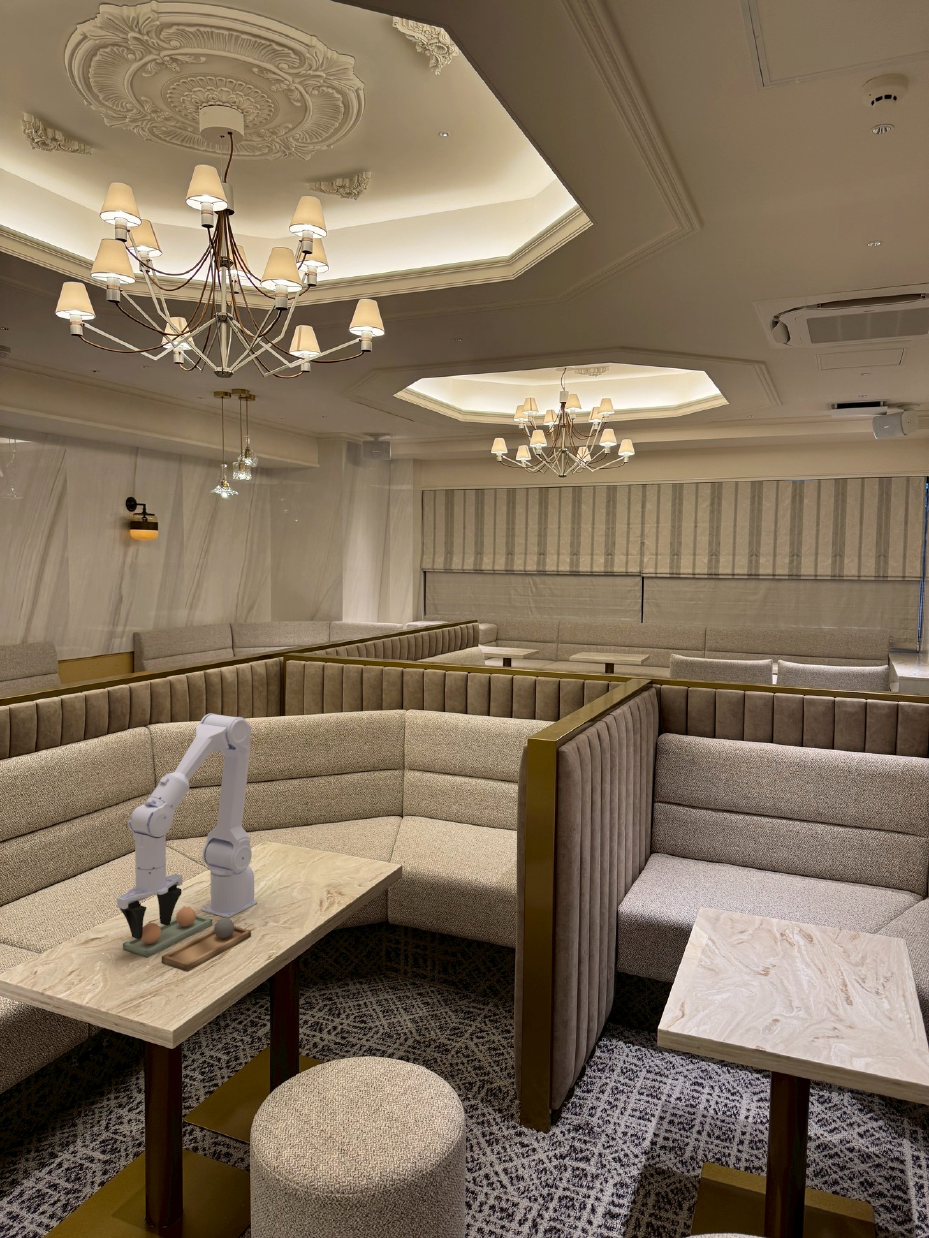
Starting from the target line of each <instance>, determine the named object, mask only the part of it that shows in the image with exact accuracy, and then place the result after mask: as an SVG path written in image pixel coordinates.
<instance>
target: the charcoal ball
mask: <svg viewBox="0 0 929 1238" xmlns="http://www.w3.org/2000/svg"><path fill="white" fill-rule="evenodd" d="M234 926H235V924H234V922H233V920H232V919H231V918H230V917H229V918H225V917H222V918H220V919H218V920H217V921H216V922H215V924H214V926H213V927H214V928H213V930H214V932H215V934H216V936H217V937H219V938H221V939H225V938H228V937H230V936H231V935H232V934H233V932H234Z"/></svg>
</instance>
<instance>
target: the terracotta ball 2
mask: <svg viewBox="0 0 929 1238" xmlns="http://www.w3.org/2000/svg"><path fill="white" fill-rule="evenodd" d="M196 915H197V913H196V911H195V910H194V908H192V907H190V906H183V907H181V908H180V909H179V910H178V911H177V912H176V915H175V919H176V921H177V923H178V924H179V925H180V926H182V927H188V926H190V925H192V924H193V923H194V921H195V919H196Z"/></svg>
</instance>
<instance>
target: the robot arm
mask: <svg viewBox="0 0 929 1238" xmlns="http://www.w3.org/2000/svg"><path fill="white" fill-rule="evenodd" d="M251 733H252V725H251V724H250V723H249V722H248V721H247V719H245V717H242V716H237V717H236V716H228V715H222V714H216V713H214V712H213V713H212V712H211V713H210V712H209V713H208V714H205V715H204V716H203V717H201V720H200V722H199V724H198V725H197V726H196V727H195V737H194V738H193V741H192V742H191V744H190V746H189V747H188V749H187V751H186V752H185V754H184V755H183V756H182V758H181V760H180V762H179V763H178V765H177V767H176V769H175V770H174V772H169V773H166V774H164V776H162V777H161V779H160V780H159V783H158V784H157V786H156V787H155V788H154V790H153V791H152V793H151V794H150V795H149V797H148V799H147V800H146V801H145V802H144V804H141V805H140V806H138V807H136V808H135V809H134V810H132V813H131V814H130V817H129V820H128V821H127V824H128V825H127V826H128V828H129V830H130V832H132V835H133V836H132V837H133V840H134V850H135V853H134V855H135V856H134V857H135V862H134V863H135V886H134V887H132V888H131V889H129V890H128V891H127V892H125V893H124V894H123V895H121V896H118V897H117V898H116V905H117V906H116V907H117V908H119V910H120V911H121V913H122V915H123V916H124V918H125V921H126V922H127V924H128V928H129V930H130V934H131V938H132V939H133V938H136V939H141V938H142V934H143V927H144V918H145V914H146V911H147V907H146V906H144V905H142V903H140V901H144V900H145V899H147V898H149V897H152V896H156V898H157V902H158V910H159V911H158V913H159V923H160V924H161V925H166V926H168V925H170V922H171V921H172V917H173V914H174V910H175V908H176V904H177V902H178V901H179V899H180V897H181V895H182V888H180V887H181V886H182V885H183V875H181V874H178V873H175V874H171V875H168V876H167V858H166V857H167V856H166V855H167V852H166V851H167V849H166V847H167V845H166V844H167V840H166V837H167V835H166V834H167V833H168V832H169V830H171V827H172V826H173V821H174V816H175V815H176V814H175V813H176V811H175V810H177V808H178V807H179V805H180V804H181V802H182V800H183V799H184V798H185V797H186V795H187V793H188V792H189V791H190V782H189V781H190V780H191V778H192V777H193V775H194V774H195V773H196V772H197V771H198V770H199V768H200V767H201V766H202V765H203V764H204V762H205V761H206V760H207V759H208V757H209V756H210V755H211V754H212V753H215V752H220V754H222V755H223V756H224V757H223V759H224V760H223V768H222V777H221V784H220V785H221V787H220V795H219V804H218V813H217V822H216V826H215V827H214V828H213V829H212V830H210V831H209V832H208V833H207V840H206V842H205V845H204V847H203V850H202V860H203V863H204V864H205V865H207V869H208V871H210V904H209V905H207V906H205V907H202V909H201V911H202V912H205V913H208V914H211V915H215V916H218V917H222V918H229V919H230V918H231V917H233V916H236V915H238V914H239V913H241V912H243V911H245V910H247V909H249V908H252V907H253V906H255V905H256V904H258V901H257V900H255V875H254V871H253V869H252V867H251V866H250V864H251V860H252V855H253V854H252V847H251V836H250V835H249V834H248V832H247V831H246V830H245V829H244V827H243V819H244V811H245V810H244V809H245V802H246V795H247V794H246V793H247V784H248V782H247V781H248V775H249V774H248V773H249V765H250V757H251V744H250V743H251V736H252V735H251ZM179 886H180V887H179Z"/></svg>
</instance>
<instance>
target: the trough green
mask: <svg viewBox="0 0 929 1238" xmlns="http://www.w3.org/2000/svg"><path fill="white" fill-rule="evenodd" d="M158 926H159V927H160V929H161V936H160V938H159V940H158V941H157V942H155V943H153V944H145V943H144V942H142V940H141V939H136V938H133V937H132V938H131V939H130V940H129V939H128V940H127V941H125V942H123V943H122V950H124V951H127V952H130V953H134V954H136V955H139V956H141V957H145V958H150V957H151V956H154V955H155V954H157V953H159V952H161V951H163V950H165V949H167V948H169V947H171V946H173V945H175V944H177V943H179V942H181V941H184V940H185V939H187V938H189V937H191V936H192V935H195V934H197V933H199V932H201V931H203V930H205V929H207V928H209V927H210V926H213V919H212V918H209V917H205V916H201V915H199V914H196V919H195V921H194V923H193V924H192V925H190V926H188V927H182V926H180V925H179V924H178V923H177V921H176V918H174V919H171V922H170V925H168V926H166V925H163V924H161V925H158Z"/></svg>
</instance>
